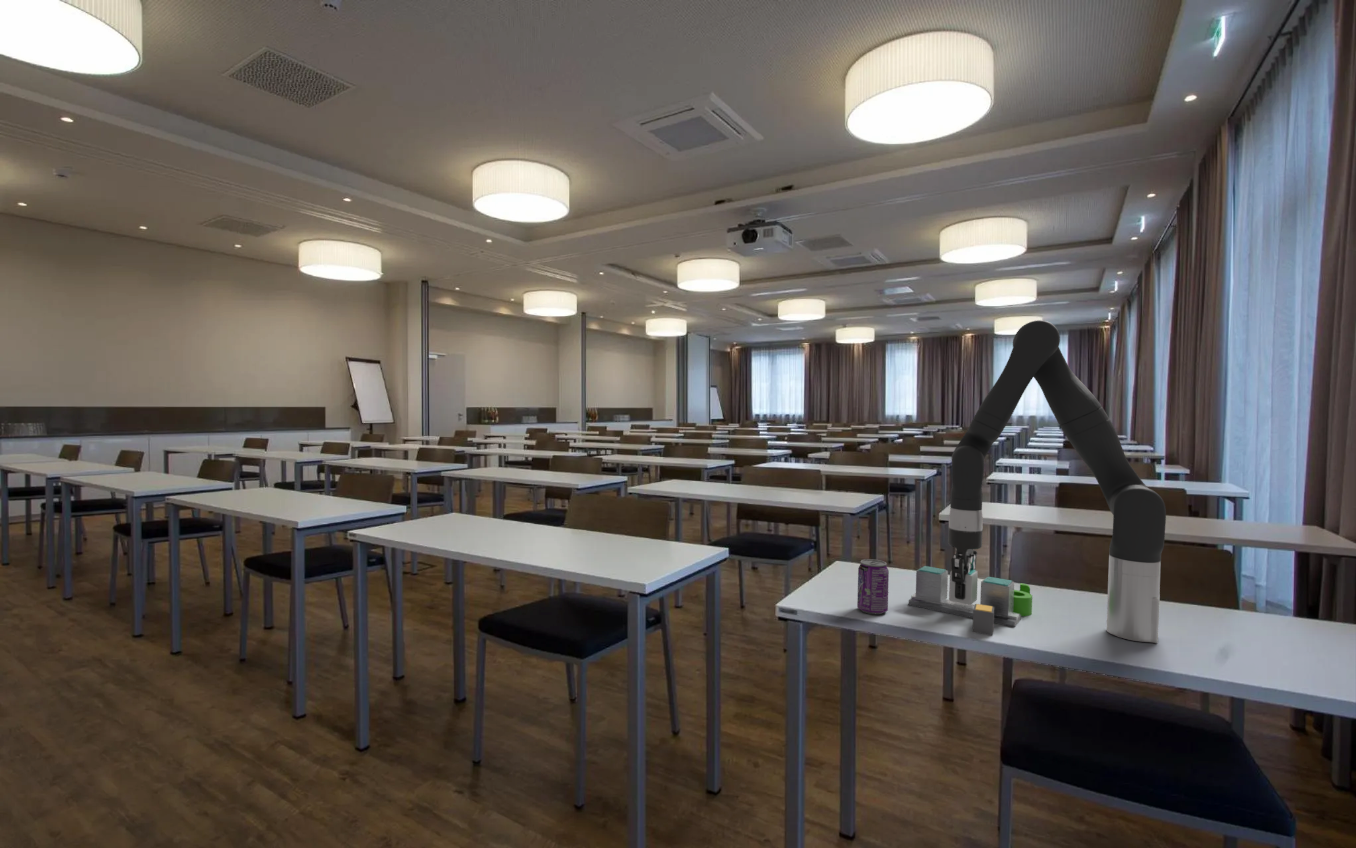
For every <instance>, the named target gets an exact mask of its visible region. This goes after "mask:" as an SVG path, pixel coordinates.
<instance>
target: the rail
mask: <svg viewBox="0 0 1356 848" xmlns="http://www.w3.org/2000/svg"><path fill="white" fill-rule="evenodd" d="M915 571H916V573H915V574H916V575H915V576H916V577H915V593H913V594H912V595H911V596H910V599H908V605H909V606H913V607H916V608H917V607H918V608H921V609H922V608H923V609H926V610H932V611H936V612H941V613H946V614H951V615H955V616H960V617H964V618H969V619H973V609H974V605H975V604H974V603H973V604H972V605H969V604H964V603H959V602H954V601H949V599H948V587H949V585H948V583H949V581H948V579H949V578H948V577H949V570H948V569H947V570H946V568H945V569H944V568H938V567H934V566H928V565H924V566H921V567H920V568H919V569H917V570H915ZM1014 590H1015V581H1013V580H1010V579H1006V578H998V577H993V576H987V577H985V578H984V579H983V580H982V581H980V602H979V603H980V605H987V606H992V607H994V624H998V625H1002V626H1003V625H1004V626H1007V627H1011V628H1012V627H1014V628H1015V627H1016V626H1017V625H1018V624H1019V622H1020V621H1022V616H1021V614H1018V613H1013V609H1014Z"/></svg>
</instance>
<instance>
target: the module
mask: <svg viewBox="0 0 1356 848" xmlns="http://www.w3.org/2000/svg"><path fill="white" fill-rule="evenodd" d="M964 571H965V570H964ZM978 572H979V571H978V570H970V573H969V575H966V587H965V599H964V600H962V599H957V598H955V583H954V582H953V581H952V570H951V571H949V585H948V587H949V588H948V589H949V591H948V592H949V593H948V600H949V601H954V602H959V603H964V604H969V605H972V604H973V605H974V603H975V602H976V601H977V600H978V582H979V581H978V578H979V577H978V576H979V573H978ZM958 577H959V578H961V575H960V574H958Z"/></svg>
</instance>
